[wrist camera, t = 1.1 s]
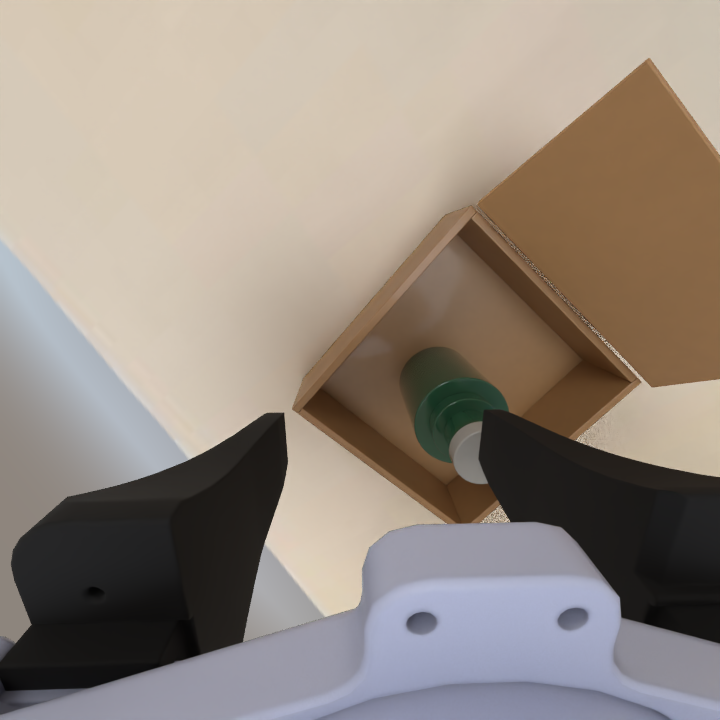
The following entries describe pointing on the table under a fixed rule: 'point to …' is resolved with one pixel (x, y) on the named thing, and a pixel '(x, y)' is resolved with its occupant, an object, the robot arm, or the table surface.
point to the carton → (475, 343)
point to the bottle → (449, 407)
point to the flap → (628, 226)
